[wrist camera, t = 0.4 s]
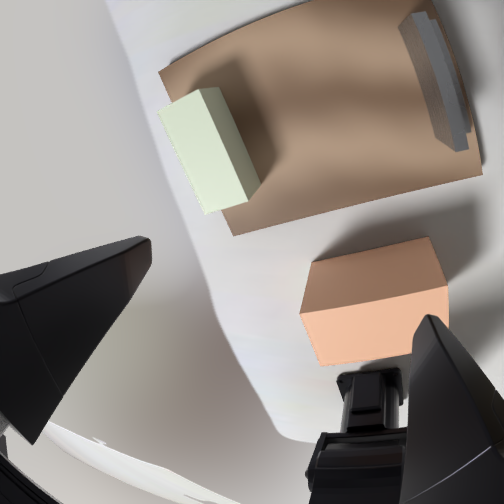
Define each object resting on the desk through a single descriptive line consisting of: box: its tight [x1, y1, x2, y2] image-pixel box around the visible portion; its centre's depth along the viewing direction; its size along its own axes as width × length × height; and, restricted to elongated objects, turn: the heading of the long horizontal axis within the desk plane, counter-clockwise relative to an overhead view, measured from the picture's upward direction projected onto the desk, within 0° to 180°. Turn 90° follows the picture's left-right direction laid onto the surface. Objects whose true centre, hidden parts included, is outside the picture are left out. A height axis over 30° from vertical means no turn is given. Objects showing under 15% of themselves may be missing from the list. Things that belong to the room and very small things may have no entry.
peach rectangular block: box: [299, 237, 449, 366], centre depth 20 cm, size 5×9×6 cm, turn 113°
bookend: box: [398, 11, 472, 152], centre depth 12 cm, size 7×2×4 cm, turn 23°
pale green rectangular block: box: [157, 87, 261, 215], centre depth 18 cm, size 7×3×3 cm, turn 23°
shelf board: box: [158, 0, 483, 236], centre depth 17 cm, size 13×18×1 cm
